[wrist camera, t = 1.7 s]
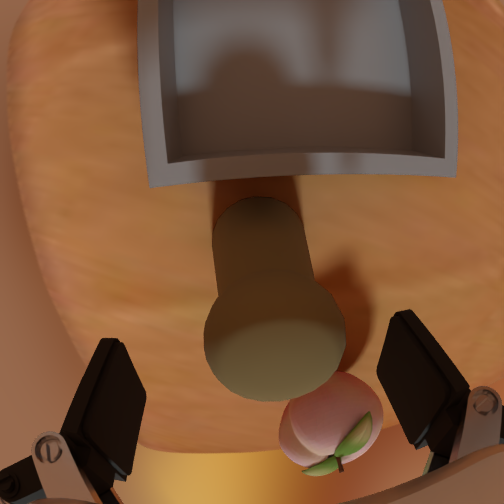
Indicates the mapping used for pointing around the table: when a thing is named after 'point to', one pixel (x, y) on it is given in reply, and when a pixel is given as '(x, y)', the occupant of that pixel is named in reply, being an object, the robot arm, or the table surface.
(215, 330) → the cork
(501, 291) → the table surface
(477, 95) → the table surface
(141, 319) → the table surface
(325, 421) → the decorative fruit
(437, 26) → the box
